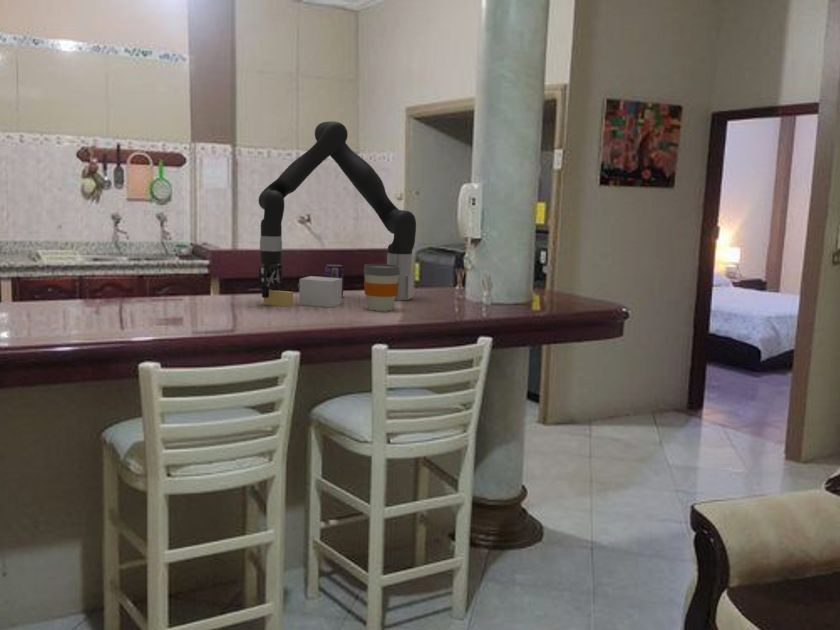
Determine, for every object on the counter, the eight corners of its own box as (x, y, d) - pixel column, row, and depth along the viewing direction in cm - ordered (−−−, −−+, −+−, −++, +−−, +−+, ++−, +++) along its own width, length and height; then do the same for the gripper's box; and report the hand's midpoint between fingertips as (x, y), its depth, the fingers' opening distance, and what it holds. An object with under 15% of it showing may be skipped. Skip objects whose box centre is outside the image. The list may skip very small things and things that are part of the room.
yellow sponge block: (292, 306, 272) (293, 291, 271) (290, 307, 270) (290, 292, 269) (266, 303, 274) (266, 289, 273) (263, 304, 272) (263, 290, 271)
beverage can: (346, 297, 298) (347, 265, 296) (335, 298, 292) (335, 266, 290) (332, 295, 301) (332, 263, 299) (320, 296, 295) (320, 264, 293)
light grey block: (341, 303, 281) (342, 278, 280) (331, 307, 272) (332, 281, 270) (308, 300, 284) (308, 276, 283) (297, 304, 275) (297, 278, 273)
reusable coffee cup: (398, 312, 267) (399, 268, 264) (361, 311, 267) (362, 266, 264) (398, 307, 279) (400, 264, 277) (363, 305, 279) (364, 263, 277)
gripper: (272, 251, 262) (272, 299, 265) (289, 248, 276) (289, 294, 278) (251, 250, 264) (251, 298, 266) (269, 247, 277) (269, 292, 280)
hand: (270, 296), depth 272 cm, fingers open, 8 cm apart
